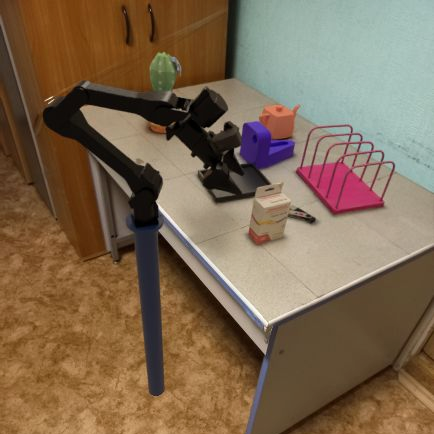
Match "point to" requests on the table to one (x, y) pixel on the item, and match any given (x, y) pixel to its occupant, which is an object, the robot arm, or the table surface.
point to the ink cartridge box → (269, 214)
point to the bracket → (263, 146)
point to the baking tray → (241, 183)
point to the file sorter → (343, 178)
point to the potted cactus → (163, 78)
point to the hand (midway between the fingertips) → (242, 184)
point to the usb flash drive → (300, 214)
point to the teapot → (278, 120)
